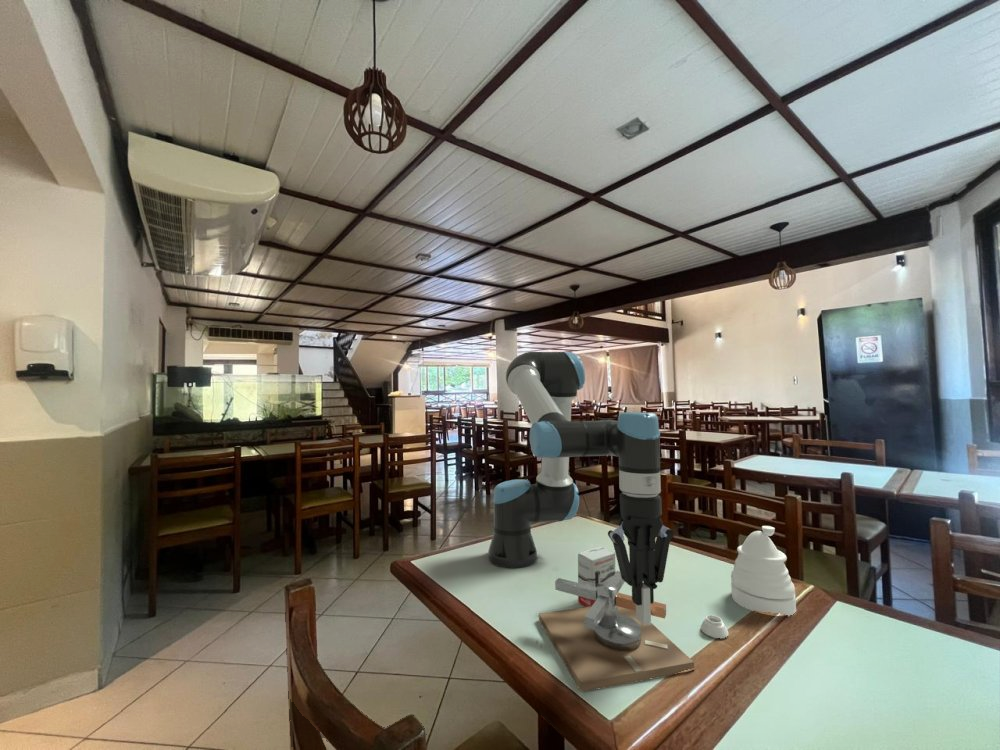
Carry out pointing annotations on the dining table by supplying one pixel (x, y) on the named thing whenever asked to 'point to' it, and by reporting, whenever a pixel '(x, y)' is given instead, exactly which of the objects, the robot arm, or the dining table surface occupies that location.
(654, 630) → the board
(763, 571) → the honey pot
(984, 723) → the dining table surface
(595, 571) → the ink box
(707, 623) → the white round hollow piece
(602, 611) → the capstan
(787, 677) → the dining table surface
